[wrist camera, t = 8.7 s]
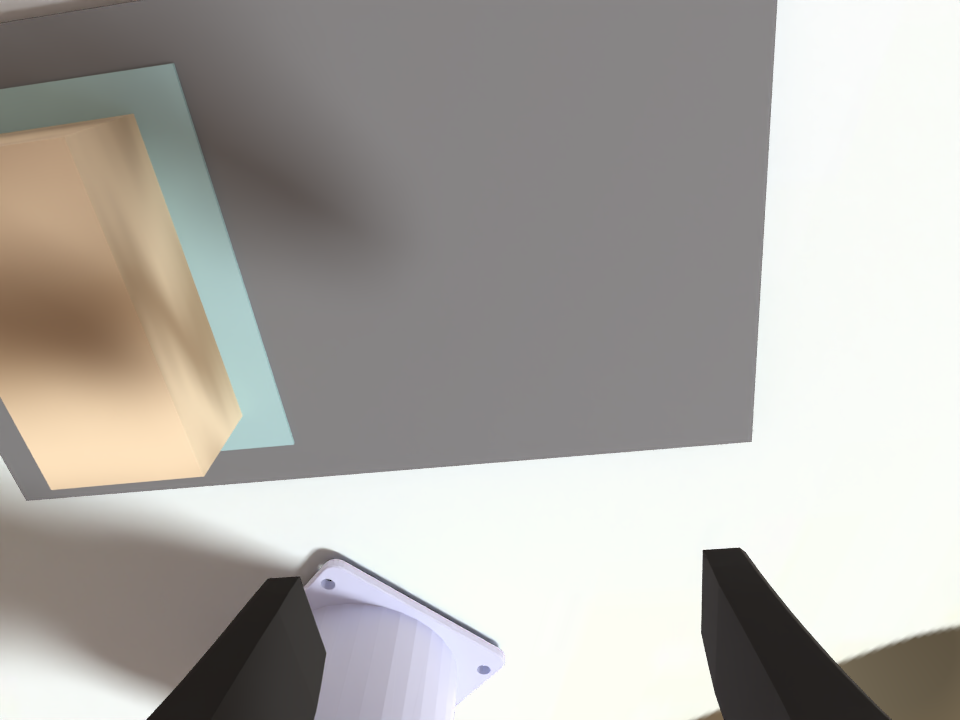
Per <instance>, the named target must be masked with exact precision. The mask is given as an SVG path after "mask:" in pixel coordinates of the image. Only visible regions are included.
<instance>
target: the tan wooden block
mask: <svg viewBox="0 0 960 720" xmlns="http://www.w3.org/2000/svg"><path fill="white" fill-rule="evenodd" d="M0 397H1V399H2V401H3V403H4V405H5V406H6V408H7V410H8V412H9V414H10V416H11V417H12V419H13V421H14V423H15V425H16V426H17V428H18V430H19V432H20V434H21V436H22V437H23V439H24V441H25V443H26V445H27V447H28V448H29V450H30V452H31V454H32V456H33V458H34V459H35V461H36V463H37V465H38V467H39V469H40V470H41V472H42V474H43V476H44V478H45V479H46V481H47V483H48V485H49V487H50V489H51V490H58V489H69V488H80V487H92V486H103V485H114V484H125V483H136V482H148V481H159V480H170V479H181V478H193V477H204V476H205V474H206V473H207V471H208V470H209V468H210V466H211V465H212V463H213V462H214V460H215V459H216V457H217V455H218V454H219V452H220V451H221V449H222V448H223V446H224V444H225V443H226V441H227V440H228V438H229V437H230V435H231V433H232V432H233V430H234V429H235V427H236V426H237V424H238V422H239V421H240V419H241V418H242V413H241V410H240V407H239V405H238V402H237V399H236V396H235V393H234V391H233V388H232V385H231V382H230V380H229V377H228V374H227V371H226V369H225V366H224V363H223V360H222V357H221V355H220V352H219V349H218V346H217V344H216V341H215V338H214V335H213V332H212V330H211V327H210V324H209V321H208V319H207V316H206V313H205V310H204V308H203V305H202V302H201V299H200V296H199V294H198V291H197V288H196V285H195V283H194V280H193V277H192V274H191V272H190V269H189V266H188V263H187V260H186V258H185V255H184V252H183V249H182V247H181V244H180V241H179V238H178V235H177V233H176V230H175V227H174V224H173V222H172V219H171V216H170V213H169V211H168V208H167V205H166V202H165V199H164V197H163V194H162V191H161V188H160V186H159V183H158V180H157V177H156V175H155V172H154V169H153V166H152V163H151V161H150V158H149V155H148V152H147V150H146V147H145V144H144V141H143V138H142V136H141V133H140V130H139V127H138V125H137V122H136V119H135V116H134V114H128V115H121V116H115V117H108V118H101V119H95V120H88V121H82V122H75V123H68V124H62V125H55V126H49V127H42V128H35V129H29V130H22V131H15V132H9V133H2V134H0Z"/></svg>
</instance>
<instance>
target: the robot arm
mask: <svg viewBox="0 0 960 720" xmlns="http://www.w3.org/2000/svg"><path fill="white" fill-rule="evenodd" d="M326 579H330V580H332V581H328V580H326ZM701 634H702V638H703V643H704V647H705V652H706V657H707V661H708V666H709V670H710V674H711V678H712V683H713V687H714V691H715V695H716V698H717V701H718V704H719V707H720V710H721V713H722V716H723V718H724V720H892V719H890V718H889V717H888V716H887V715H886V714H885V713H884V712H883V711H882V710H881V709H880V708H879V707H878V706H877V705H876V704H875V703H874V702H873V701H872V700H871V699H870V698H869V697H868V696H867V695H866V694H865V693H864V692H863V690H861V689H860V687H858V685H857V684H856V683H855V682H854V681H853V680H852V679H851V678H850V677H849V676H848V675H847V674H846V673H845V672H844V671H843V670H842V669H841V668H840V666H839V665H838V664H837V663H836V662H835V661H834V660H833V659H832V658H831V657H830V656H829V654H828V653H827V652H826V651H825V650H824V649H823V648H822V647H821V645H820V644H819V643H818V642H817V641H816V640H815V639H814V638H813V636H812V635H811V634H810V633H809V632H808V631H807V630H806V628H805V627H804V626H803V625H802V624H801V623H800V621H799V620H798V619H797V618H796V617H795V616H794V614H793V613H792V612H791V611H790V610H789V608H788V607H787V606H786V605H785V603H784V602H783V601H782V600H781V598H780V597H779V596H778V595H777V593H776V592H775V591H774V590H773V588H772V587H771V586H770V585H769V583H768V582H767V581H766V579H765V578H764V577H763V575H762V574H761V573H760V571H759V570H758V569H757V567H756V566H755V565H754V563H753V562H752V561H751V559H750V558H749V556H748V555H747V554H746V552H744V551H743V550H742V549H741V548H727V549H711V550H703V570H702V620H701ZM504 664H505V654H504V652H503V651H502V650H501V649H500V648H498V647H496V646H494V645H493V644H491V643H489V642H487V641H485V640H484V639H482V638H480V637H478V636H477V635H475V634H473V633H471V632H469V631H468V630H466V629H464V628H462V627H461V626H459V625H457V624H455V623H453V622H452V621H450V620H448V619H446V618H445V617H443V616H441V615H439V614H437V613H436V612H434V611H432V610H430V609H429V608H427V607H425V606H423V605H421V604H420V603H418V602H416V601H414V600H413V599H411V598H409V597H407V596H406V595H404V594H402V593H400V592H398V591H397V590H395V589H393V588H391V587H390V586H388V585H386V584H384V583H382V582H381V581H379V580H377V579H375V578H374V577H372V576H370V575H368V574H366V573H365V572H363V571H361V570H359V569H358V568H356V567H354V566H352V565H350V564H349V563H347V562H345V561H343V560H340V559H332V560H329V561H327V562H326V563H325V564H324V565H323V566H322V567H321V568H320V569H319V570H318V572H317V573H316V574H315V575H314V576H313V577H312V578H311V579H310V580H309V582H308V583H307V584H306V585H305V586H304V587H303V585H302V582H301V579H300V577H286V578H270V579H267V580H266V582H265V583H264V584H263V585H262V586H261V587H260V589H259V590H258V591H257V592H256V593H255V594H254V596H253V597H252V598H251V599H250V600H249V602H248V603H247V604H246V605H245V606H244V608H243V609H242V610H241V611H240V612H239V614H238V615H237V616H236V617H235V619H234V620H233V621H232V622H231V623H230V625H229V626H228V627H227V628H226V629H225V631H224V632H223V633H222V634H221V636H220V637H219V638H218V639H217V640H216V642H215V643H214V644H213V645H212V646H211V648H210V649H209V650H208V651H207V652H206V653H205V655H204V656H203V657H202V658H201V659H200V660H199V662H198V663H197V664H196V665H195V666H194V667H193V669H192V670H191V671H190V672H189V673H188V674H187V676H186V677H185V678H184V679H183V680H182V681H181V682H180V684H179V685H178V686H177V687H176V688H175V689H174V690H173V691H172V692H171V694H170V695H169V696H168V697H167V698H166V699H165V700H164V701H163V702H162V703H161V704H160V705H159V707H158V708H157V709H156V710H155V711H154V712H153V713H152V714H151V715H150V716H149V717H148V718H147V720H454V713H455V706H456V705H457V704H459V703H460V702H461V701H462V700H464V699H465V698H466V697H467V696H468V695H470V694H471V693H472V692H473V691H474V690H476V689H477V688H478V687H479V686H481V685H482V684H483V683H484V682H485V681H487V680H488V679H489V678H490V677H492V676H493V675H494V674H495V673H496V672H498V671H499V670H500V669H501V668H502V667H503V666H504ZM483 665H484V666H483Z"/></svg>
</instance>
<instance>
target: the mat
mask: <svg viewBox="0 0 960 720" xmlns="http://www.w3.org/2000/svg"><path fill="white" fill-rule="evenodd" d="M776 13H777V0H140V1H134V2H127V3H121V4H115V5H109V6H103V7H96V8H90V9H84V10H78V11H72V12H65V13H59V14H53V15H47V16H41V17H35V18H28V19H22V20H16V21H10V22H4V23H0V134H2V133H9V132H15V131H22V130H29V129H35V128H42V127H49V126H55V125H62V124H68V123H75V122H82V121H88V120H95V119H101V118H108V117H115V116H121V115H128V114H134V116H135V119H136V122H137V125H138V127H139V130H140V133H141V136H142V138H143V141H144V144H145V147H146V150H147V152H148V155H149V158H150V161H151V163H152V166H153V169H154V172H155V175H156V177H157V180H158V183H159V186H160V188H161V191H162V194H163V197H164V199H165V202H166V205H167V208H168V211H169V213H170V216H171V219H172V222H173V224H174V227H175V230H176V233H177V235H178V238H179V241H180V244H181V247H182V249H183V252H184V255H185V258H186V260H187V263H188V266H189V269H190V272H191V274H192V277H193V280H194V283H195V285H196V288H197V291H198V294H199V296H200V299H201V302H202V305H203V308H204V310H205V313H206V316H207V319H208V321H209V324H210V327H211V330H212V332H213V335H214V338H215V341H216V344H217V346H218V349H219V352H220V355H221V357H222V360H223V363H224V366H225V369H226V371H227V374H228V377H229V380H230V382H231V385H232V388H233V391H234V393H235V396H236V399H237V402H238V405H239V407H240V410H241V413H242V418H241V419H240V421H239V422H238V424H237V426H236V427H235V429H234V430H233V432H232V433H231V435H230V437H229V438H228V440H227V441H226V443H225V444H224V446H223V448H222V449H221V451H220V452H219V454H218V455H217V457H216V459H215V460H214V462H213V463H212V465H211V466H210V468H209V470H208V471H207V473H206V474H205V476H204V477H193V478H181V479H170V480H159V481H148V482H136V483H125V484H114V485H103V486H92V487H80V488H69V489H58V490H51V489H50V487H49V485H48V483H47V481H46V479H45V478H44V476H43V474H42V472H41V470H40V469H39V467H38V465H37V463H36V461H35V459H34V458H33V456H32V454H31V452H30V450H29V448H28V447H27V445H26V443H25V441H24V439H23V437H22V436H21V434H20V432H19V430H18V428H17V426H16V425H15V423H14V421H13V419H12V417H11V416H10V414H9V412H8V410H7V408H6V406H5V405H4V403H3V401H2V399H1V397H0V455H1V457H2V458H3V460H4V462H5V464H6V465H7V467H8V469H9V471H10V472H11V474H12V476H13V478H14V480H15V481H16V483H17V485H18V487H19V488H20V490H21V492H22V494H23V495H24V497H25V499H26V501H29V500H41V499H53V498H66V497H78V496H90V495H103V494H115V493H127V492H139V491H152V490H164V489H176V488H189V487H201V486H213V485H225V484H238V483H250V482H262V481H275V480H287V479H299V478H311V477H324V476H336V475H348V474H361V473H373V472H385V471H397V470H410V469H422V468H434V467H447V466H459V465H471V464H483V463H496V462H508V461H520V460H533V459H545V458H557V457H569V456H582V455H594V454H606V453H619V452H631V451H643V450H655V449H668V448H680V447H692V446H704V445H717V444H729V443H741V442H752V426H753V409H754V391H755V374H756V357H757V340H758V323H759V305H760V288H761V271H762V254H763V237H764V220H765V202H766V185H767V168H768V151H769V134H770V117H771V99H772V82H773V65H774V48H775V31H776Z"/></svg>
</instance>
